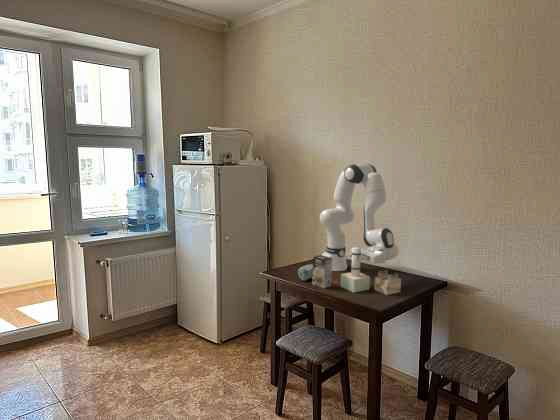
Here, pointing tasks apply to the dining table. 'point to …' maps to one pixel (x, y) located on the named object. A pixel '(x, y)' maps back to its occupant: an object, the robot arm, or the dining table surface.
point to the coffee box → (322, 271)
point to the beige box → (355, 282)
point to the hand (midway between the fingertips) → (354, 256)
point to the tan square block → (387, 283)
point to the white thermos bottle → (355, 262)
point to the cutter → (336, 283)
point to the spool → (306, 272)
